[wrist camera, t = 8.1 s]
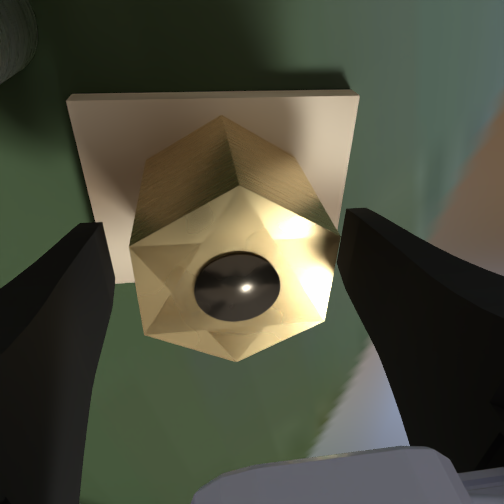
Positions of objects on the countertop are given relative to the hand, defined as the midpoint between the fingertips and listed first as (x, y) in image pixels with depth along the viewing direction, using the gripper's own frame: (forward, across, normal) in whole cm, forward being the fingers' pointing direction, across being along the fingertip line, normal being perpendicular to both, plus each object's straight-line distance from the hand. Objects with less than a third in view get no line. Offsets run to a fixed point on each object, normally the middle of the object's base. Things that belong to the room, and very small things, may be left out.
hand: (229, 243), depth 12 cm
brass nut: (+3, 0, 0) cm, 3 cm away
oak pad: (+4, 0, 0) cm, 4 cm away
